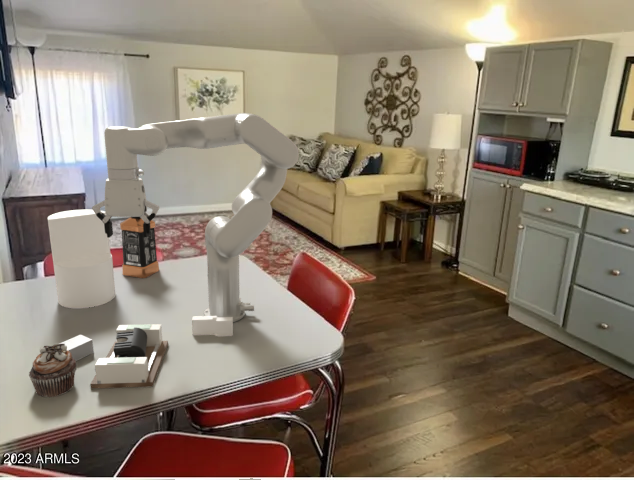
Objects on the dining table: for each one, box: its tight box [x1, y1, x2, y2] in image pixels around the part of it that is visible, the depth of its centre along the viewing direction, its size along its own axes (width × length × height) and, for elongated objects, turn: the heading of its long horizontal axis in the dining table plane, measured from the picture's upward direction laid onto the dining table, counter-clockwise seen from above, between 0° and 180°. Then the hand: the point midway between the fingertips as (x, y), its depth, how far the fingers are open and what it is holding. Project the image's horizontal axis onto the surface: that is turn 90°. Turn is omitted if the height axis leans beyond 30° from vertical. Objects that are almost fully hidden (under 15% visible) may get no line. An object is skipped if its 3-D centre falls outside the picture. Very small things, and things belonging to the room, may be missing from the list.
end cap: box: [114, 328, 147, 358], centre depth 122 cm, size 10×7×7 cm
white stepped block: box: [191, 315, 234, 337], centre depth 140 cm, size 15×11×6 cm
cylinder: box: [47, 208, 116, 309], centre depth 158 cm, size 17×17×28 cm
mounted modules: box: [94, 323, 163, 384], centre depth 123 cm, size 11×20×5 cm, turn 6°
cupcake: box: [28, 343, 77, 398], centre depth 112 cm, size 10×10×10 cm
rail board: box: [89, 340, 169, 389], centre depth 123 cm, size 14×20×1 cm
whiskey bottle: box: [119, 217, 160, 279], centre depth 180 cm, size 10×10×32 cm
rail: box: [97, 344, 160, 384], centre depth 123 cm, size 11×20×1 cm, turn 6°
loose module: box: [59, 334, 95, 362], centre depth 126 cm, size 5×8×4 cm, turn 149°
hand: (128, 236), depth 134 cm, fingers open, 9 cm apart
